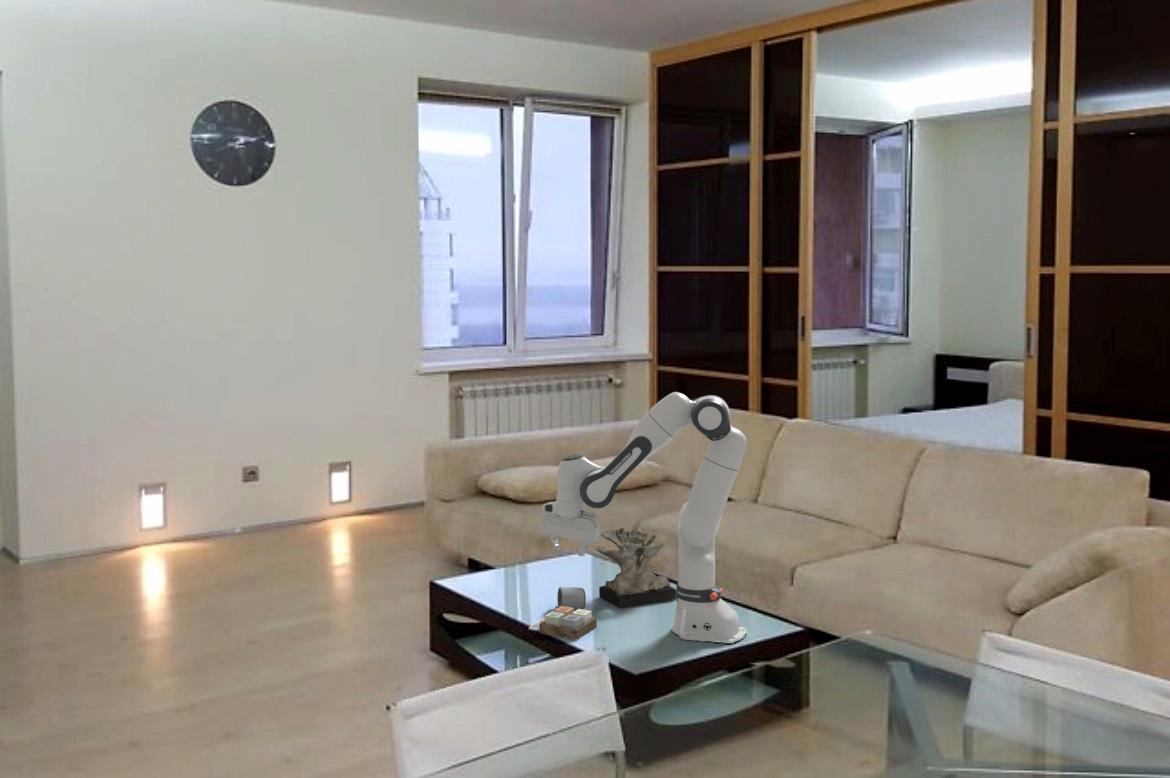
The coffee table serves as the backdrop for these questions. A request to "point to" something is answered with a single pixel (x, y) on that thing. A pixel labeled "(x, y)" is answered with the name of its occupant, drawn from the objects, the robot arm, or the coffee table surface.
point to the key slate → (572, 621)
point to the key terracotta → (565, 610)
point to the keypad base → (568, 629)
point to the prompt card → (536, 625)
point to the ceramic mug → (571, 597)
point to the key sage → (554, 618)
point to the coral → (634, 571)
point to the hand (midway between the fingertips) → (568, 552)
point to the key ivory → (583, 615)
